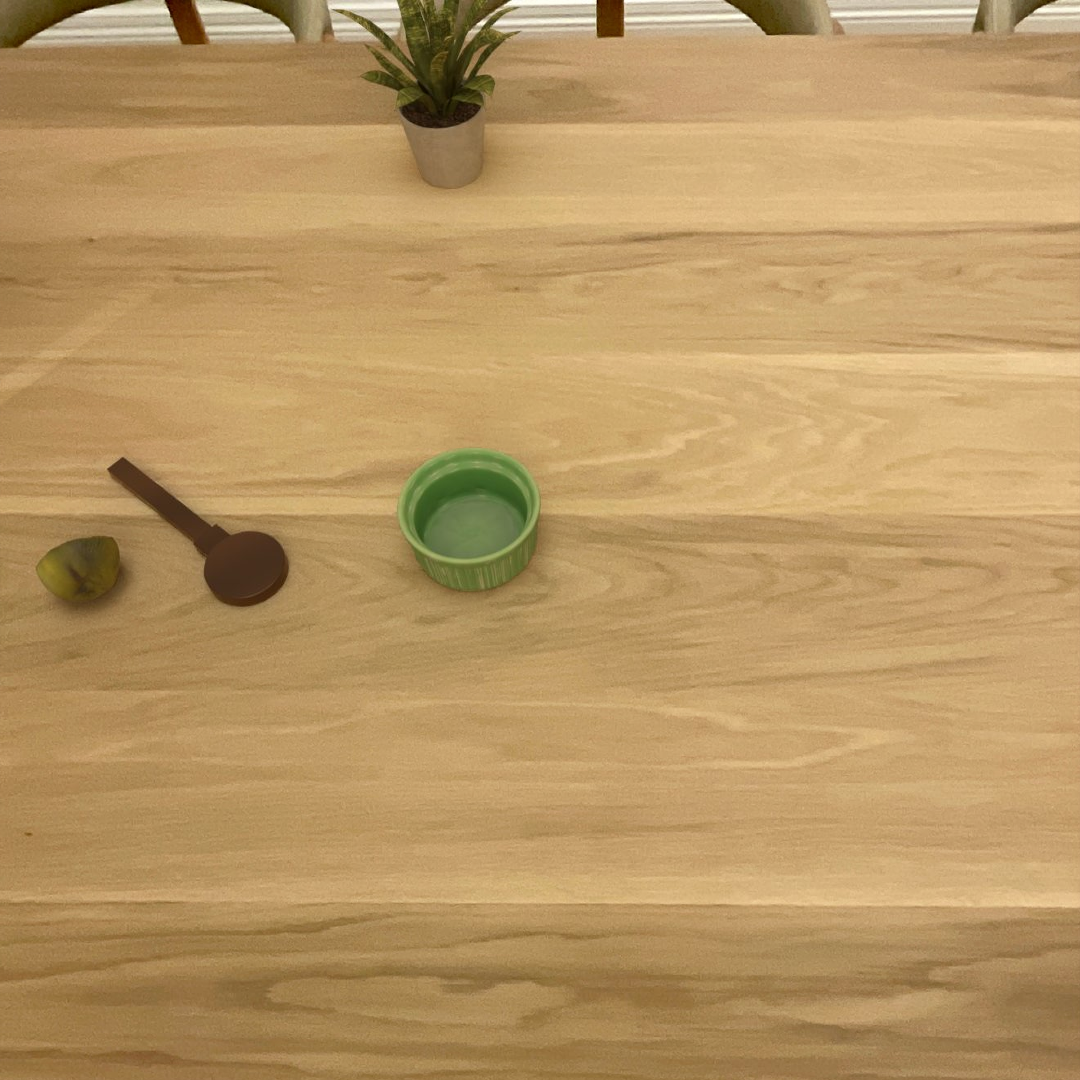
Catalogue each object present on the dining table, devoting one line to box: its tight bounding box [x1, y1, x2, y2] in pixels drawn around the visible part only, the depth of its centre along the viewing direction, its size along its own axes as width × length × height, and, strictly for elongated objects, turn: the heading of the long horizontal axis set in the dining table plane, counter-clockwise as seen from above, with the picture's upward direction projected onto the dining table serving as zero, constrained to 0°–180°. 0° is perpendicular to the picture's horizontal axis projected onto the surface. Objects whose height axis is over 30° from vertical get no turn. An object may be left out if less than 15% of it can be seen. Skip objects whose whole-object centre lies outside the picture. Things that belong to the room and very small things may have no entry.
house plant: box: [331, 0, 522, 189], centre depth 89 cm, size 14×14×16 cm
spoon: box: [106, 456, 289, 607], centre depth 77 cm, size 16×5×1 cm, turn 50°
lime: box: [35, 535, 121, 603], centre depth 73 cm, size 4×5×5 cm
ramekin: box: [396, 446, 542, 592], centre depth 74 cm, size 9×9×4 cm
